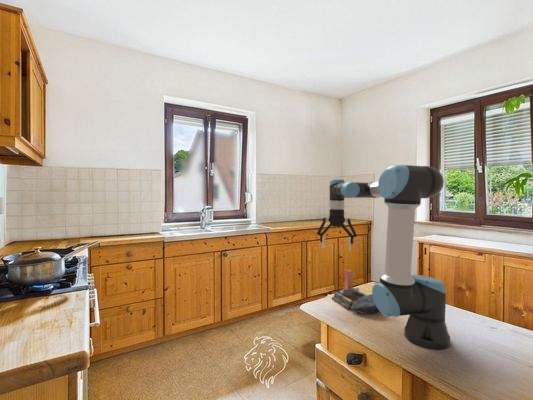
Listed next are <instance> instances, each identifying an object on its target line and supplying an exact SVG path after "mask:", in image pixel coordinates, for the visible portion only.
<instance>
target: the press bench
mask: <svg viewBox="0 0 533 400" xmlns="http://www.w3.org/2000/svg"><path fill="white" fill-rule="evenodd" d="M339 291H342V289H340V290H337V291H334V292H333V296H331V300H332V301H334V302H335V303H337V304H338V305H340V306H341V307H343V309H345V310H347V311H353V310H352V309H351V307H352V304H353V303H354V302H356V301H357V300H358V299H360V298H361V297H362V296H366V295H367V294H366V293H364V292H362V291H361V290H359V298H353V299H348V298H347V297H345V296H343V295H341V294H340V293H339Z"/></svg>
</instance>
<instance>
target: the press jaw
mask: <svg viewBox="0 0 533 400" xmlns="http://www.w3.org/2000/svg"><path fill="white" fill-rule="evenodd" d="M359 289H360V288H359V287H354V270H352V269H344V288H342V289H341V290H342V291H339V293H340V294H341V295H343V296H345V297H347V298H348V299H353V298H359V291H360V290H359Z"/></svg>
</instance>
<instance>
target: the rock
mask: <svg viewBox="0 0 533 400" xmlns="http://www.w3.org/2000/svg"><path fill="white" fill-rule="evenodd" d="M351 309H352V310H351V311H356V312H358V313H362V314H368V315H375V314H377V312H380V311H379V310H378V308H377V307H376V305H375V303H374V300H373V296H372V293H371V294H366V296H362V297H361V298H360V299H358V300H357V301H356V302H354V303H353V304H352V307H351Z"/></svg>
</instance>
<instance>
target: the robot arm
mask: <svg viewBox="0 0 533 400" xmlns="http://www.w3.org/2000/svg"><path fill="white" fill-rule="evenodd" d="M378 178H379V179H378V180H377V181H372V182H354V181H347V182H346V181H345V179H343V178H335V179H334V178H333V179H330V180H329V208H330V209H329V210H328V211H329V213H328V214H329V217H323V218H322V223H321V224H320V227H319V229H318V230H317V233H316V235H318V236H319V237H320V243H321V245H322V246H321V249H325V248H326V247H325V245H326V244H325V243H326V242H325V241H326V240H325V235H326V233H327V232H328V231H329V230H330V229H331V227H337V228H340V227H341V228H342V229H343V230H344V231H345V233H346V234H347V235H348V236H349V238H348V251H349V252H350V251H352V245H354V238H356V237H358V234H357V232H356V229H355V228H354V226H353V224H352V222H351V221H352V220H351V218H345V198H346V199H347V198H348V199H353V198H355V199H356V198H357V199H358V198H359V199H360V198H361V199H362V198H364V199H365V198H366V199H367V198H368V199H371V198H372V199H377V198H384V199H383V201H384V202H383V203H384V204H385V206H387V208H388V209H387V226H386V228H387V229H386V230H387V231H386V245H385V262H384V272H382V273H381V274H380V275H379V282H377V283H375V284H373V287H372V290H371V294H372V296H373V300H374V303H375V305H376V307H377V308H378V310H379V311H378V312H380V313H381V314H382V315H383V316H385V317H389V318H391V317H394V318H395V317H396V318H398V317H402V316H408V318H407V321H406V324H405V326H404V328H403V329H404V331H403V335H404V337H405V338H406V339H407V340H408V341H410V342H412V343H413V344H415V345H417V346H420V347H423V348H427V349H433V350H444V349H448V348H449V347H450V346H451V336H450V334H449V331H448V326H447V324H446V300H447V291H446V284H445V283H444V282H443V281H442V280H440V279H437V278H434V277H431V276H426V275H420V274H412V261H413V247H414V246H413V245H414V233H415V231H414V230H415V215H416V209H417V208H418V207H420V206H421V204H422V203H421V201H422V199H429V198H430V199H431V198H433V197H436V196H437V195H438V194H439V193H440V192H441V191H442V189H443V187H444V183H445V182H444V177H443V174H442V173H441V172H440V171H439V170H438V169H436V168H435V167H432V166H428V165H411V164H409V165H408V164H398V165H390V166H387V167H386V168H385V169H384V170H383V172H381V174H380V175H379V177H378ZM327 222H329V224H328V225H327V226H326V228H324V227H325V225H326V223H327ZM345 222H346V224H348V227H349V229H350V230H349V229H348V228H347V226H346V225H345V224H344V223H345ZM323 229H324V230H323Z"/></svg>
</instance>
